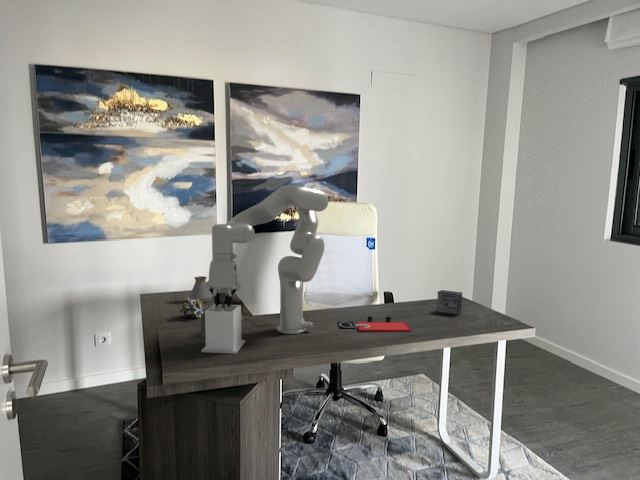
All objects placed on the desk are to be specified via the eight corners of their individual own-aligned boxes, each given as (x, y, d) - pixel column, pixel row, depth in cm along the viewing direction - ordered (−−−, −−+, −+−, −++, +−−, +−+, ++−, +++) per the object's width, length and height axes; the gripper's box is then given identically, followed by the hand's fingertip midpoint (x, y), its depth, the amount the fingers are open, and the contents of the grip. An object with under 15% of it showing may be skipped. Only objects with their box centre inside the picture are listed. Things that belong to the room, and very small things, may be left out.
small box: (462, 313, 229) (462, 292, 228) (458, 316, 224) (459, 294, 223) (440, 309, 235) (441, 289, 234) (436, 312, 229) (437, 291, 228)
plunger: (237, 341, 182) (236, 290, 179) (231, 348, 173) (230, 295, 171) (216, 340, 182) (216, 290, 180) (210, 347, 174) (208, 295, 172)
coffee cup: (234, 335, 192) (233, 304, 191) (219, 331, 197) (218, 301, 195) (248, 329, 200) (247, 299, 198) (233, 326, 204) (233, 297, 202)
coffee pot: (188, 304, 242) (187, 275, 240) (191, 299, 253) (190, 271, 251) (230, 303, 244) (229, 275, 242) (231, 298, 255) (231, 271, 254)
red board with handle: (337, 322, 212) (341, 333, 197) (337, 316, 212) (341, 326, 197) (403, 322, 214) (411, 333, 199) (403, 316, 213) (411, 327, 199)
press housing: (245, 341, 184) (244, 304, 182) (236, 353, 171) (235, 313, 169) (208, 340, 185) (207, 303, 184) (196, 351, 172) (195, 312, 171)
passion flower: (199, 329, 217) (200, 312, 210) (175, 325, 216) (176, 308, 209) (205, 310, 226) (206, 294, 218) (182, 306, 225) (182, 290, 217)
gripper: (247, 256, 177) (247, 304, 179) (204, 255, 179) (205, 302, 181) (242, 259, 170) (242, 309, 172) (197, 258, 171) (198, 307, 173)
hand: (223, 305), depth 176 cm, fingers open, 3 cm apart
